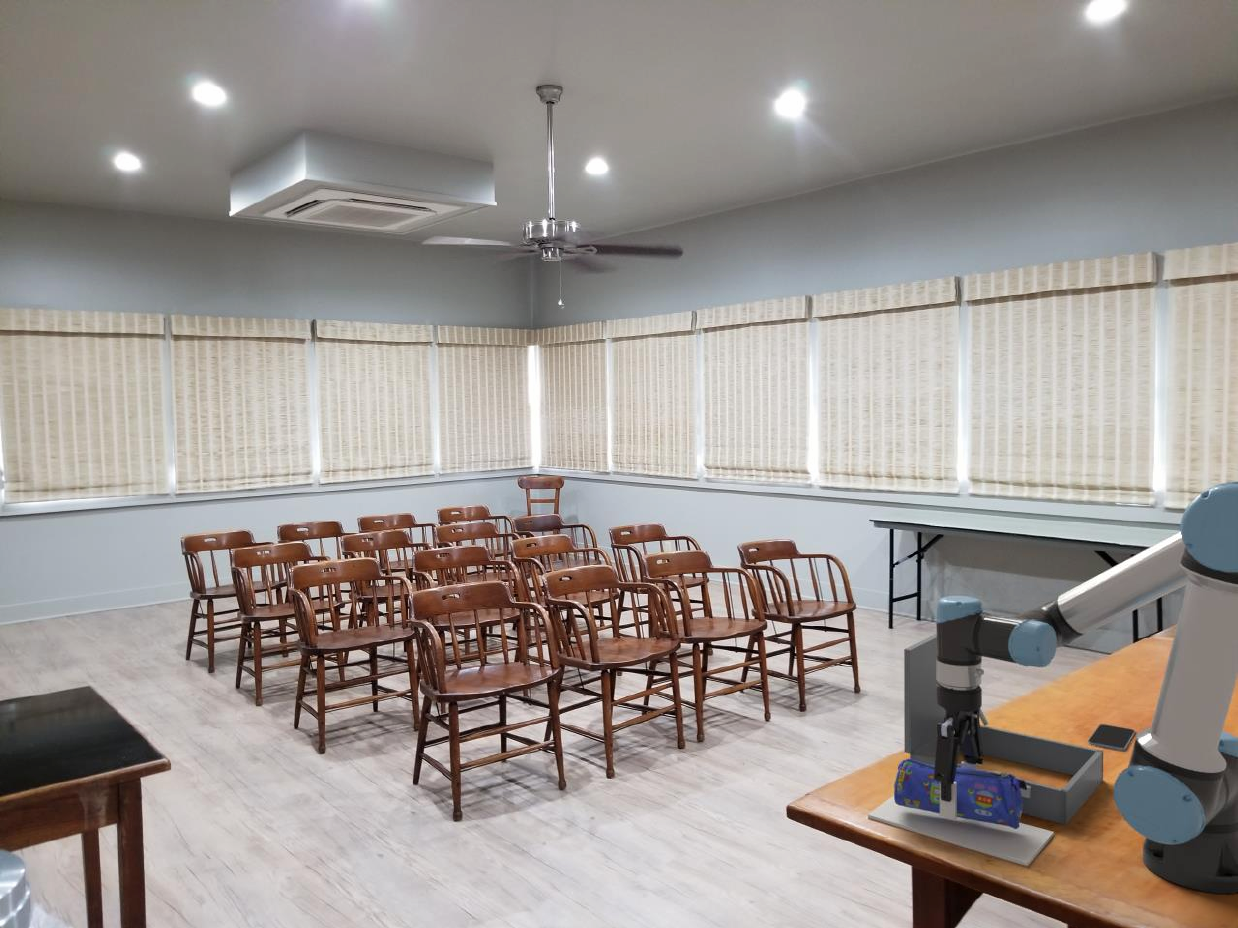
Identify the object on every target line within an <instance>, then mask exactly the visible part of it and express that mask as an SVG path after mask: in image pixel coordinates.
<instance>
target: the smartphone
mask: <svg viewBox="0 0 1238 928" xmlns="http://www.w3.org/2000/svg"><path fill="white" fill-rule="evenodd" d="M1135 733H1136V730H1135V729H1133V728H1130V727H1129V728H1127V727H1122V726H1116V725H1110V724H1105V723H1104V724H1103V723H1100V724H1099V725H1098V726H1097V727H1096V729H1095V730H1094V731H1093V733H1092V734H1091V735H1090V737H1089V738H1088V740H1087V744H1088V743H1089V744H1091V745H1090V746H1092V745H1095V746H1094V747H1097V746H1100V747H1099V748H1102V747H1105V748H1104V749H1107V748H1109V749H1108V750H1112V749H1114V750H1113V751H1118V750H1119V752H1125V751H1126V750H1127V748H1128V747H1129V745H1130V743H1131V741H1132V739H1133V738H1134V735H1135ZM1089 744H1088V745H1089Z"/></svg>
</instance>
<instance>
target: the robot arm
mask: <svg viewBox="0 0 1238 928" xmlns="http://www.w3.org/2000/svg"><path fill="white" fill-rule="evenodd" d="M1185 586H1186V589H1185V594H1184V597H1183V601H1182V606H1181V609H1180V612H1179V616H1178V617H1179V618H1178V621H1177V624H1176V628H1175V632H1174V635H1173V640H1172V644H1171V647H1170V651H1169V655H1168V660H1167V663H1166V667H1165V670H1164V671H1165V672H1164V674H1163V679H1162V683H1161V687H1160V689H1159V694H1158V696H1157V697H1158V698H1157V702H1156V706H1155V710H1154V714H1153V717H1152V721H1151V725H1150V727H1147V728H1144V729H1142V730H1140V731H1138V732H1137V733H1136V736H1135V741H1134V743H1133V747H1132V751H1131V755H1130V759H1129V763H1128V765H1127V767H1125V768H1124V769H1123V770H1122V771H1121V772H1120V773H1119V775H1117V778H1116V780H1115V782H1114V785H1113V799H1114V803H1115V806H1116V808H1117V810H1118V812H1119V813H1120V814H1121V816H1122V818H1123V819H1124V821H1125V823H1127V825H1128V826H1129V827H1130V828H1131V829H1133V830H1134V831H1135V832H1137V833H1138V834H1140V836H1142V837H1145V839H1144V841H1143V845H1142V860H1143V861H1142V862H1143V863H1144V865H1145V866H1146V867H1147V868H1148V869H1149V870H1150V871H1151V872H1153V873H1154V874H1155V875H1158V876H1159V877H1160V878H1163V879H1164V880H1167V881H1168V882H1170V883H1173V884H1176V885H1177V886H1178V885H1179V886H1182V887H1184V888H1189V889H1192V890H1197V891H1201V892H1206V893H1212V894H1214V893H1215V894H1223V895H1225V894H1226V893H1230V894H1238V893H1237V892H1238V737H1237V736H1236V735H1234V734H1232V733H1229V732H1227V731H1224V727H1225V724H1226V720H1227V716H1228V712H1229V708H1230V705H1231V701H1232V698H1233V695H1234V691H1235V687H1236V684H1237V681H1238V481H1230V482H1229V481H1228V482H1223V483H1220V484H1219V483H1218V484H1216V485H1214V486H1211V487H1210V488H1207V489H1206V490H1204V491H1203V492H1201V493H1199V494H1198V495H1197V496H1195V498H1194V499H1192V500H1191V501H1190V502H1189V504H1188V505H1187V507H1186V508H1185V509H1184V512H1183V513H1182V517H1181V522H1180V531H1178V532H1176V533H1174V534H1173V535H1171V536H1169V537H1167V538H1164V539H1163V540H1160V541H1159V542H1157V543H1156V544H1153V545H1152V546H1150V547H1147V548H1146V549H1143V551H1141V552H1139V553H1137V554H1135V555H1133V556H1131V557H1129V558H1128V559H1125V560H1124V561H1122V562H1120V563H1119V564H1116V565H1114V566H1113V567H1111V568H1108V569H1107V570H1104V571H1103V572H1102V573H1100V574H1098V575H1096V576H1094V577H1092V578H1091V579H1090V578H1089V580H1086V581H1085V582H1082V583H1081V584H1079V585H1077V586H1075V587H1073V588H1071V589H1070V590H1067V591H1066V592H1064V593H1061V594H1060V595H1059V596H1057V597H1055V598H1054V597H1053V598H1052V599H1051V600H1048V601H1047V602H1045V603H1043V604H1040V606H1037V607H1035V608H1033V609H1030V610H1027V611H1023V612H1022V613H1018V614H1016V615H1015V614H1014V615H1013V616H1012V615H1011V616H1007V615H999V614H992V613H988V612H986V611H985V612H983V611H984V608H983V605H982V604H983V603H982V601H981V600H980V599H978V598H974V597H972V596H966V595H949V596H944V597H941V598H940V599H938V601H937V606H936V607H937V608H936V620H935V625H936V633H937V658H936V680H937V681H938V682H939V683H938V684H937V703H938V705H939V706H941V707H943V708H944V709H945V710H946V714H945V717H944V722H943V723H938V725H937V735H938V737H937V748H936V760H935V771H934V780H936V781H939V782H940V816H942V817H946V818H949V819H953V820H956V819H957V782H954V779H955V774H956V768H957V763H958V761H959V756H960V751H961V754H962V759H963V761H961V762H960V764H961V768H967V769H972V770H975V771H978V767H979V765H981V766H982V765H983V764H984V758H982V757H983V755H984V754H983V753H982V742H981V732H980V725H981V724H980V723H981V722H980V717H979V714H980V708H982V705H983V703H982V700H983V699H982V697H983V695H982V694H983V691H982V689H983V688H982V687H981V684H982V676H983V675H984V674H985V670H984V669H982V661H983V660H982V657H984V658H989V659H994V660H999V661H1003V662H1007V663H1011V664H1012V663H1013V664H1018V665H1019V666H1022V667H1034V668H1035V667H1036V668H1045V667H1048V666H1049V665H1050V664H1051V662H1052V660H1053V659H1054V657H1055V656H1056V653H1057V649H1058V648H1061V647H1064V646H1066V645H1068V644H1070V643H1072V642H1073V641H1074V640H1077V639H1078V638H1080V637H1082V636H1084V635H1086V634H1087V633H1090V632H1092V631H1094V630H1096V629H1098V628H1100V627H1102V626H1104V625H1107V624H1109V623H1111V622H1113V621H1115V620H1117V619H1119V618H1121V617H1123V616H1125V615H1127V614H1129V613H1131V612H1133V611H1136V610H1138V609H1139V608H1141V607H1143V606H1146V605H1147V604H1150V603H1151V602H1153V601H1155V600H1158V599H1160V598H1162V597H1165V596H1166V595H1168V594H1170V593H1172V592H1175V591H1176V590H1179V589H1181V588H1182V587H1185ZM955 738H959V739H955ZM960 747H961V749H960Z"/></svg>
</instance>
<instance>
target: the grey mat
mask: <svg viewBox="0 0 1238 928" xmlns="http://www.w3.org/2000/svg"><path fill="white" fill-rule="evenodd" d="M867 818H868V819H871V820H874V821H878V822H881V823H885V824H888V825H890V826H894V827H897V828H900V829H903V830H907V831H910V832H914V833H916V834H919V835H922V836H927V837H929V838H933V839H937V840H938V841H939V840H940V841H943V842H946V843H948V844H949V843H950V844H952V845H955V846H959V847H962V848H965V849H969V850H972V851H975V852H979V853H982V854H986V855H988V856H991V857H996V858H998V859H1001V860H1005V861H1008V862H1011V863H1014V864H1018V865H1021V866H1024V867H1029V866H1030V865H1031V864H1032V863H1033V861H1034V859H1036V858H1037V857H1038V855H1039V854H1040V852H1042V850H1043V849H1044V848H1045V846H1047V844H1048V843H1049V842H1050V841H1051V839H1052V838H1053V837H1054V836H1055V832H1054V831H1051V830H1048V829H1044V828H1041V827H1037V826H1033V825H1030V824H1026V823H1022V822H1019V828H1017V829H1014V828H1012V827H1009V826H1004V825H999V824H994V823H988V822H982V821H976V820H972V819H964V818H960V817H957V819H956V820H953V819H949V818H946V817H942V816H940V814H939V813H935V812H931V811H925V810H920V809H915V808H908V807H905V806H900V805H898V804H896V803H895V800H894V794H893V795H892V796H891V797H889V798H888V799H887V800H885V801H884V802H882V803H881V804H880V805H879V806H878V807H876V808H875V809H873V810H872V811H871V812H870V813H868V814H867Z"/></svg>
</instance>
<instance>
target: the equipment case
mask: <svg viewBox="0 0 1238 928" xmlns="http://www.w3.org/2000/svg"><path fill="white" fill-rule="evenodd" d="M903 655H904V658H903V660H904V661H903V662H904V665H903V666H904V668H903V669H904V674H903V677H904V679H903V680H904V681H903V682H904V683H903V684H904V687H903V688H904V691H903V692H904V693H903V694H904V696H903V697H904V698H903V699H904V701H903V702H904V705H903V706H904V710H903V711H904V719H903V720H904V728H903V729H904V753H906V754H910V755H909V759H914V760H916V761H919V762H921V763H926V764H929V765H935V760H936V748H937V737H938V735H937V725H938V723H943V722H944V717H945V714H946V710H945V709H944V708H943V707H941V706H939V705H938V703H937V684H938V683H939V682H938V681H937V680H936V658H937V632H936V633H935V634H932V635H930V636H928V637H926V638H924V639H923V640H920V641H918V642H917V643H916V642H915V643H914V644H912V645H909V646H908V647H906V648H904V654H903ZM981 708H982V707H981ZM981 708H980V714H979V720H981V723H982V724H983V725H982V724H980V732H981V742H982V753H983V754H982V755H985V756H988V757H993V758H998V759H1000V760H1001V759H1002V760H1005V761H1009V762H1016V763H1019V764H1023V765H1027V766H1032V767H1036V768H1039V767H1041V768H1040V769H1044V768H1045V770H1048V769H1049V770H1048V771H1052V772H1057V773H1060V774H1061V773H1062V774H1065V775H1070V776H1072V777H1071V779H1069V781H1068V782H1067V783H1066V784H1065V785H1064V786H1063V787H1062V788H1060V787H1056V786H1051V785H1048V784H1044V783H1040V782H1035V781H1031V780H1027V779H1023V778H1019V777H1016V778H1017V779H1020V780H1024V781H1025V783H1026V786H1027V790H1024V789H1022V788H1020V790H1021V794H1022V814H1024V815H1027V816H1032V817H1036V818H1040V819H1041V820H1046V821H1049V822H1053V823H1058V824H1061V825H1065V826H1066V825H1068V824H1069V822H1070V821H1071V820H1072V818H1074V816H1075V815H1076V814H1077V813H1078V812H1079V810H1080V809H1081V808H1082V806H1083V805H1085V803H1086V801H1087V800H1088V799H1089V798H1090V797H1091V795H1093V793H1094V792H1095V791H1096V790H1097V788H1098V787H1099V786H1100V785H1101V784H1102V782H1103V781H1104V750H1100V749H1095V748H1092V747H1086V746H1081V745H1076V744H1072V743H1067V742H1063V741H1058V740H1053V739H1050V738H1043V737H1038V736H1035V735H1030V734H1026V733H1020V732H1015V731H1011V730H1005V729H1000V728H996V727H992V726H989V722H988V720H987V718H986V715H985V714H984V712H983V710H982V709H981ZM955 739H959V738H955ZM960 750H961V747H960ZM957 768H961V763H958V762H957ZM978 771H987V772H990V770H987V769H982V768H978Z"/></svg>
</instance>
